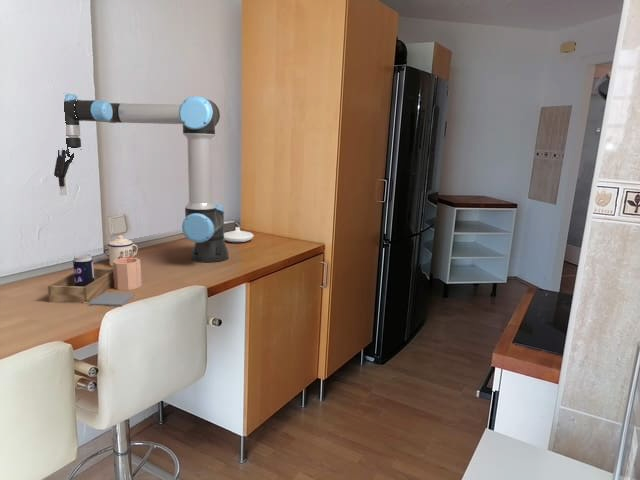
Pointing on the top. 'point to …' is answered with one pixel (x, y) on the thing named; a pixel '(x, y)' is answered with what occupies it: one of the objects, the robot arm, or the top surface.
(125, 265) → the pot
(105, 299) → the coaster
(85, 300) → the crate
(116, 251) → the teacup with lid
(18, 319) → the top surface
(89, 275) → the beverage can
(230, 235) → the white bowl
